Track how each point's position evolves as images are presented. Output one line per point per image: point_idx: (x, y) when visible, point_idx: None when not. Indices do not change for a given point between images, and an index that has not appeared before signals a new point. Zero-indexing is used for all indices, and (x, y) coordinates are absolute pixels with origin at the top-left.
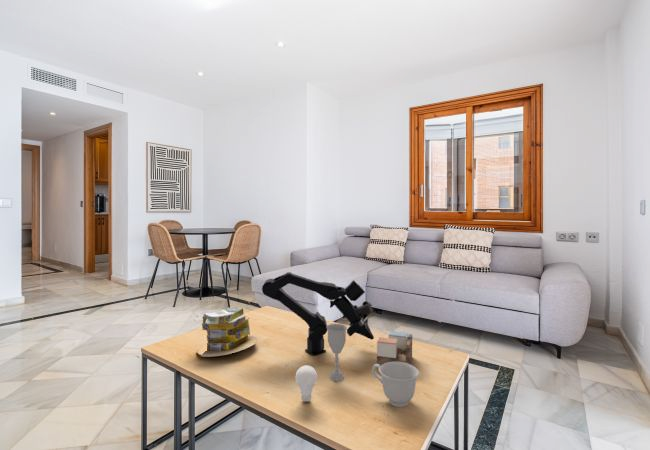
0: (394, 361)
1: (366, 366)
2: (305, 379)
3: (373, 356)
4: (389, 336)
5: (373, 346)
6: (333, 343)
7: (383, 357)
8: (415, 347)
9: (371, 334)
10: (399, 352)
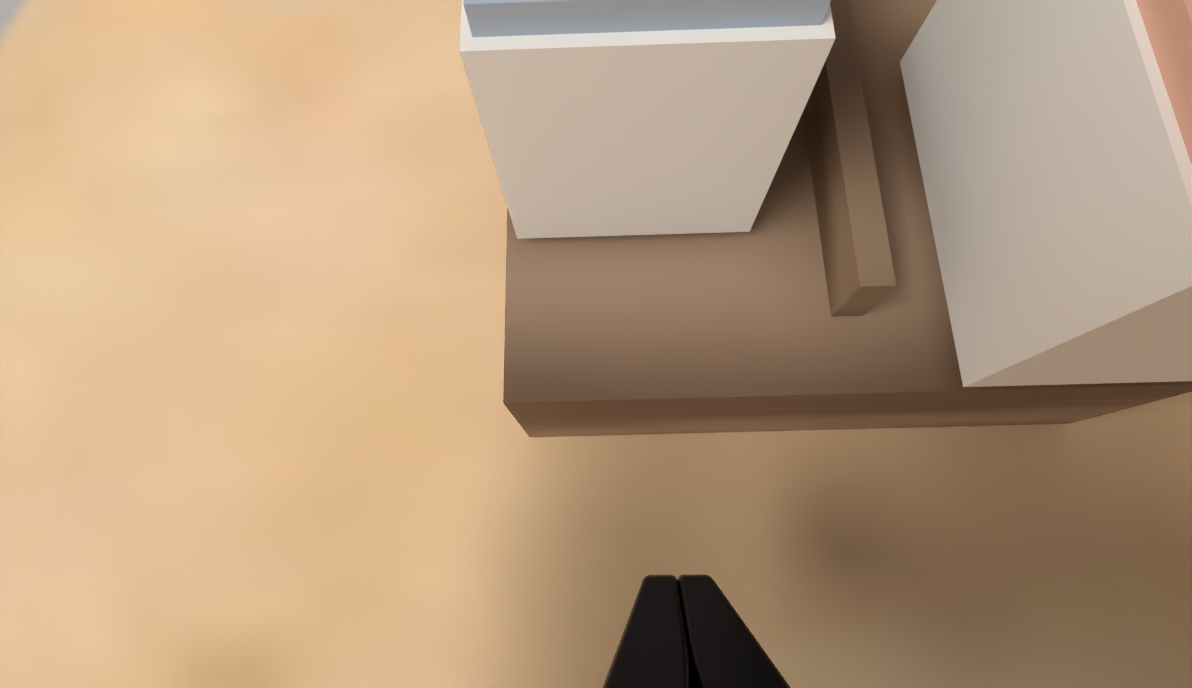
0: None
1: (1120, 591)
2: None
3: (695, 553)
4: (827, 17)
5: (260, 644)
6: None
7: None
8: (192, 29)
9: (732, 673)
10: None
